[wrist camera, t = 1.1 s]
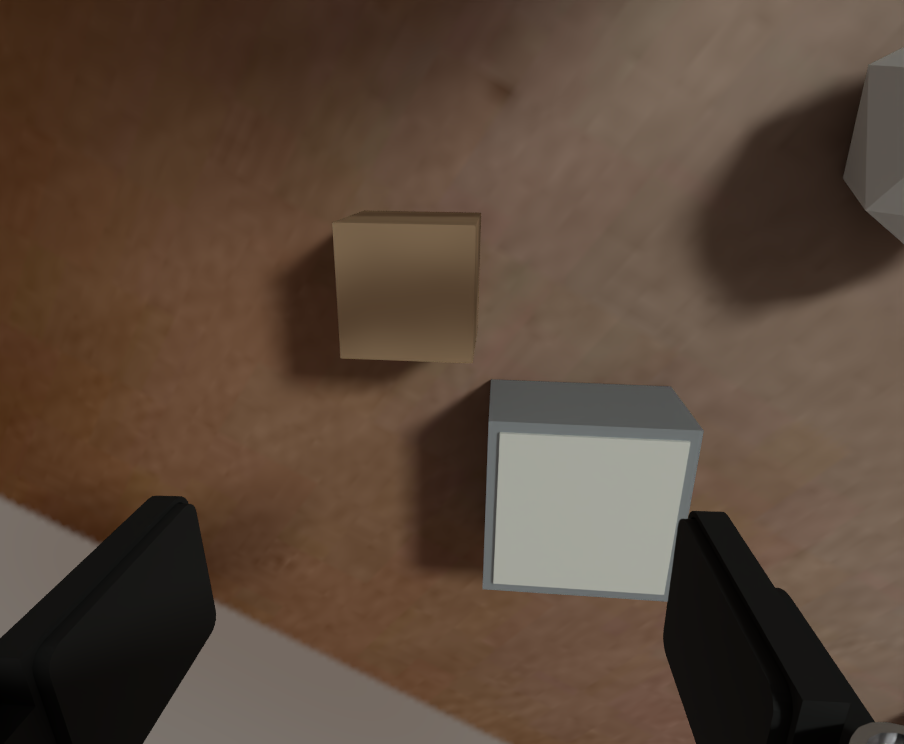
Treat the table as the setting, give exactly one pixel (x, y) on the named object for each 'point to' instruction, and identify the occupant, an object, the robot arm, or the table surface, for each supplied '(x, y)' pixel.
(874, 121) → the die
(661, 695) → the table surface
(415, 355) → the walnut cube
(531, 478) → the block
